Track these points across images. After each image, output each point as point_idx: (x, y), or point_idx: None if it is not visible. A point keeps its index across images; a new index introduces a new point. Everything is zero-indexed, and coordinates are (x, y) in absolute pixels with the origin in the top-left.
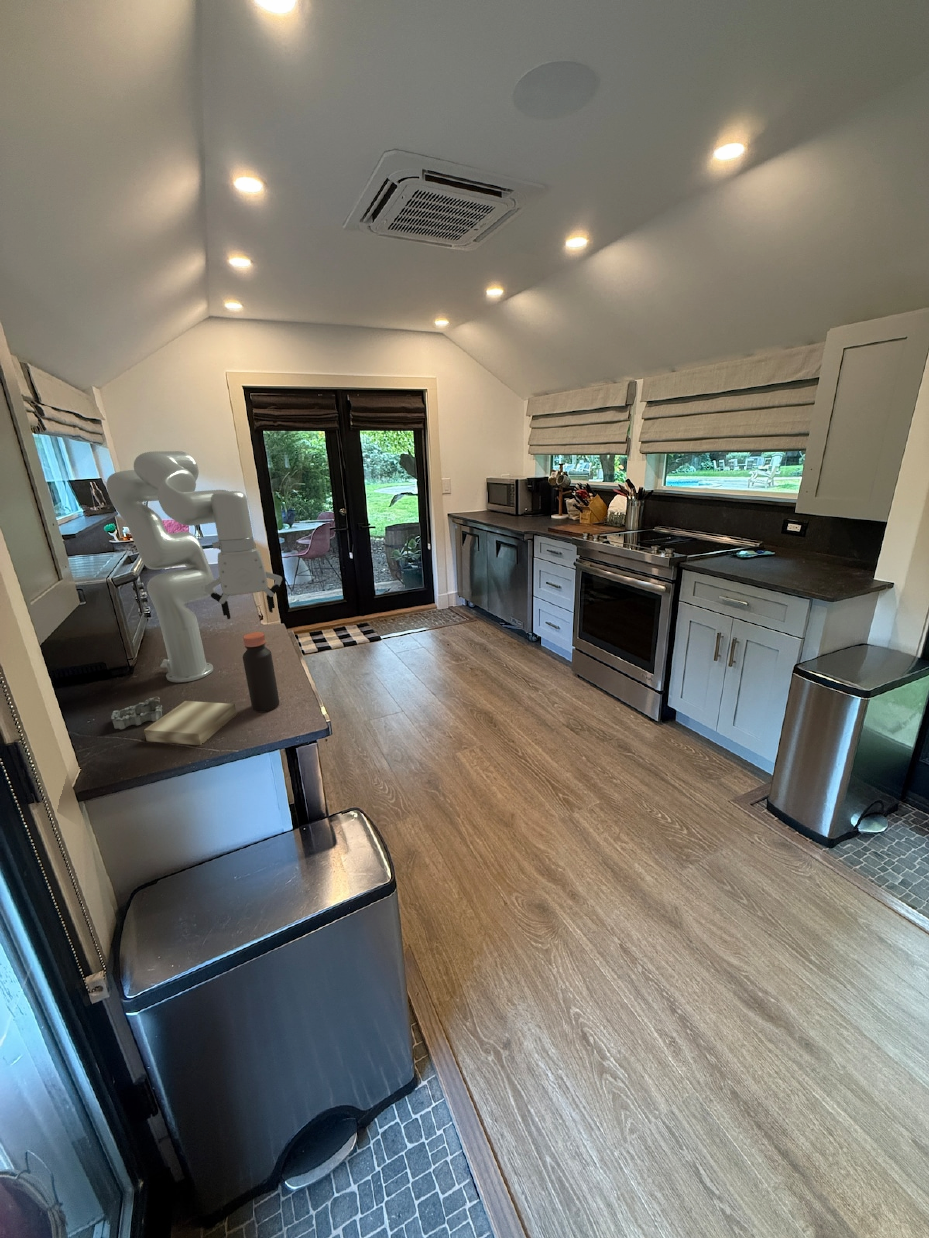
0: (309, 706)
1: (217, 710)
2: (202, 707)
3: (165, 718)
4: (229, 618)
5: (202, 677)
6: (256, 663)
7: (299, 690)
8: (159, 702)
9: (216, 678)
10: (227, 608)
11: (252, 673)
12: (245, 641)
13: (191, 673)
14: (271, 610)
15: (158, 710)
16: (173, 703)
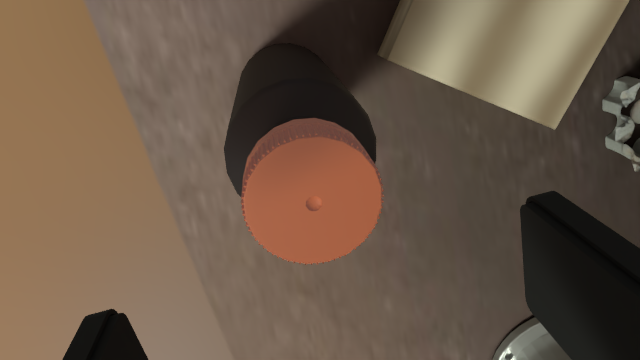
0: (119, 48)
1: (441, 20)
2: (495, 61)
3: (606, 6)
4: (532, 197)
5: (514, 330)
6: (293, 75)
7: (186, 185)
8: (628, 148)
9: (473, 320)
10: (615, 255)
11: (317, 68)
12: (361, 147)
13: (550, 339)
14: (90, 323)
15: (628, 90)
16: (578, 182)
